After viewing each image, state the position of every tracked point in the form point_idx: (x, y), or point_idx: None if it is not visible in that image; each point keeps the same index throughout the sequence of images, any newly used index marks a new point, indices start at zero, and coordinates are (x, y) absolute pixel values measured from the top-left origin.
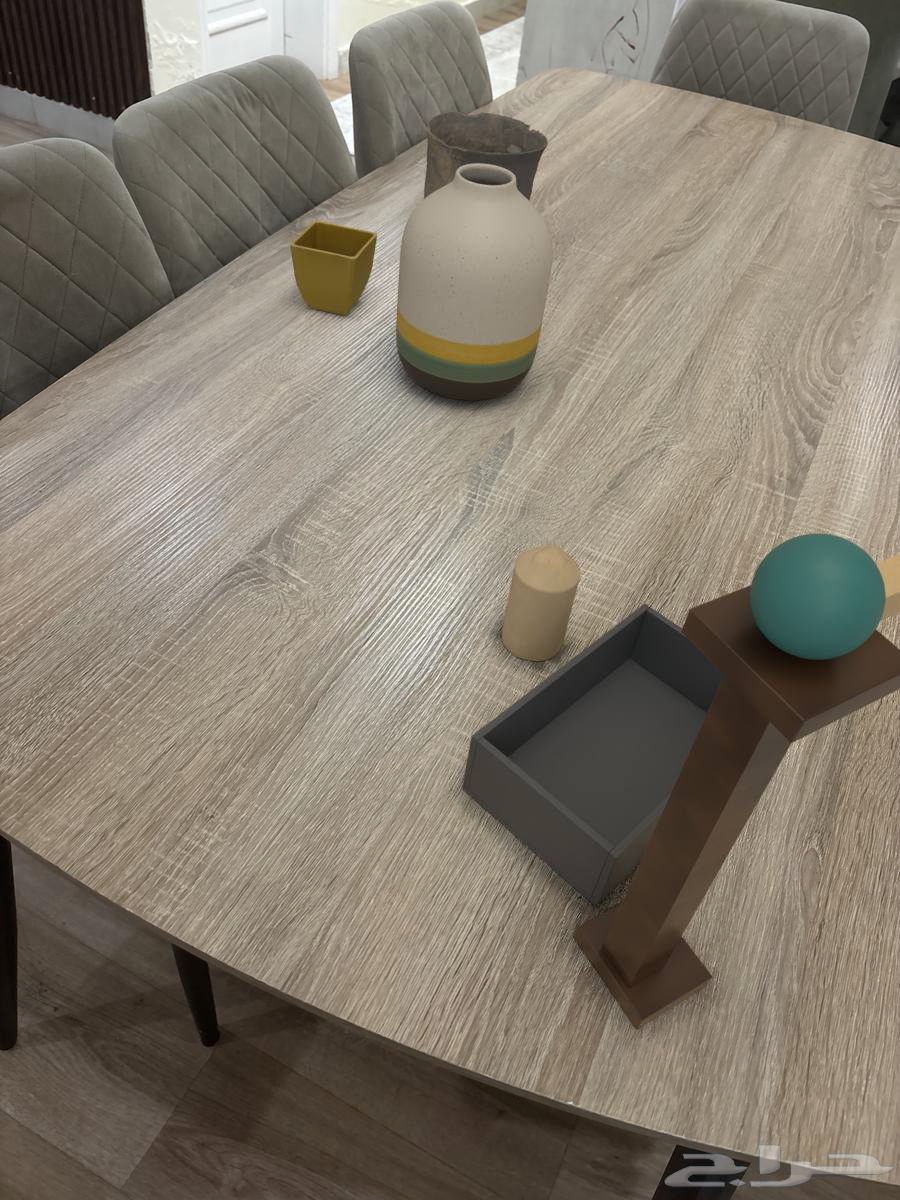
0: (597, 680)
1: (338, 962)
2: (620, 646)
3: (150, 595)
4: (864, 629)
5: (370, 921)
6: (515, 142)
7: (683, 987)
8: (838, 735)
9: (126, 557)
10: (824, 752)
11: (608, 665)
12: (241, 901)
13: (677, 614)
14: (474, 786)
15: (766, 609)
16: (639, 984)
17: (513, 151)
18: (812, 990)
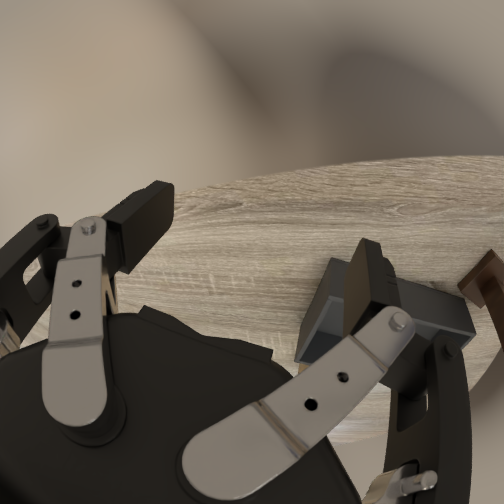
0: (335, 339)
1: (488, 351)
2: (320, 350)
3: (361, 425)
4: None
5: (475, 351)
6: None
7: (501, 265)
8: (286, 209)
9: (348, 430)
10: (308, 215)
11: (328, 343)
12: (470, 374)
13: (248, 310)
14: None
15: None
16: (501, 281)
17: None
18: (483, 199)
